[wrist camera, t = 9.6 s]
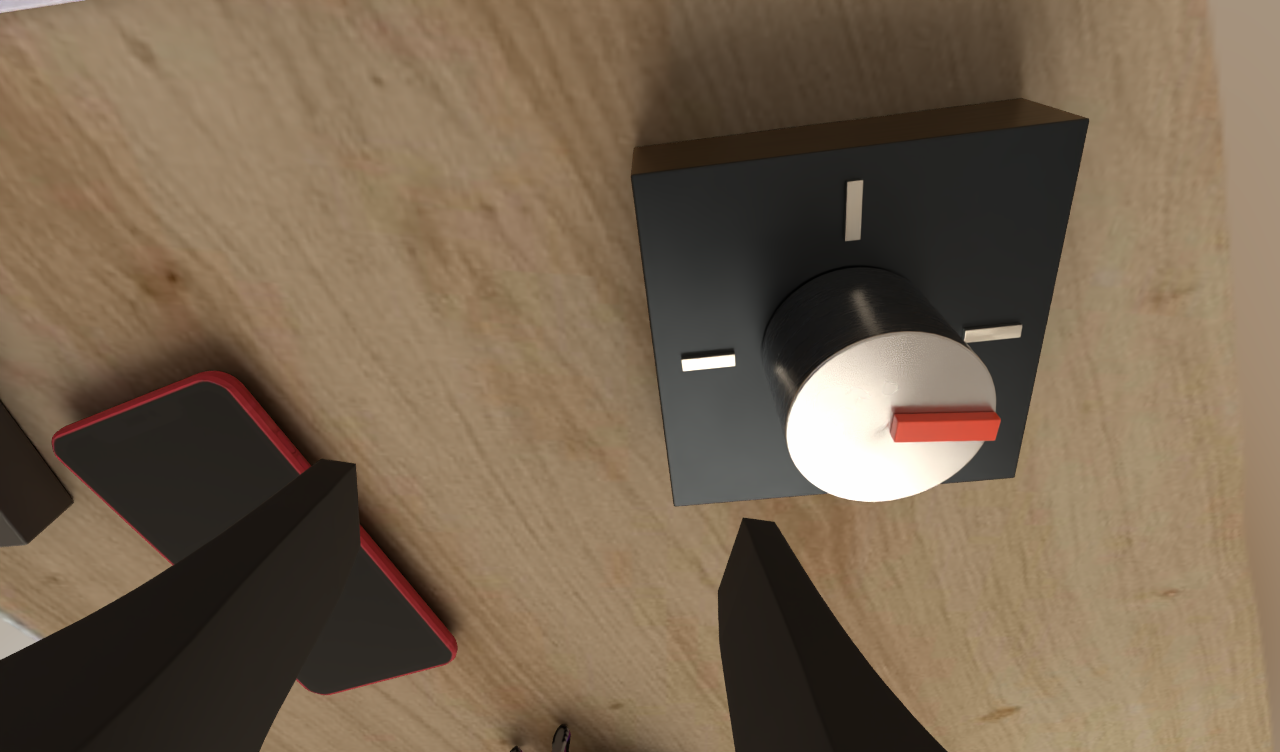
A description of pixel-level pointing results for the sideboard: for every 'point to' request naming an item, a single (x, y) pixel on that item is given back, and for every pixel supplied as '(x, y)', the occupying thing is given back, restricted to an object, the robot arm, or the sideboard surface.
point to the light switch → (25, 487)
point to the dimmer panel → (845, 264)
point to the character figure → (556, 740)
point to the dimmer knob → (875, 387)
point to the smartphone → (227, 491)
